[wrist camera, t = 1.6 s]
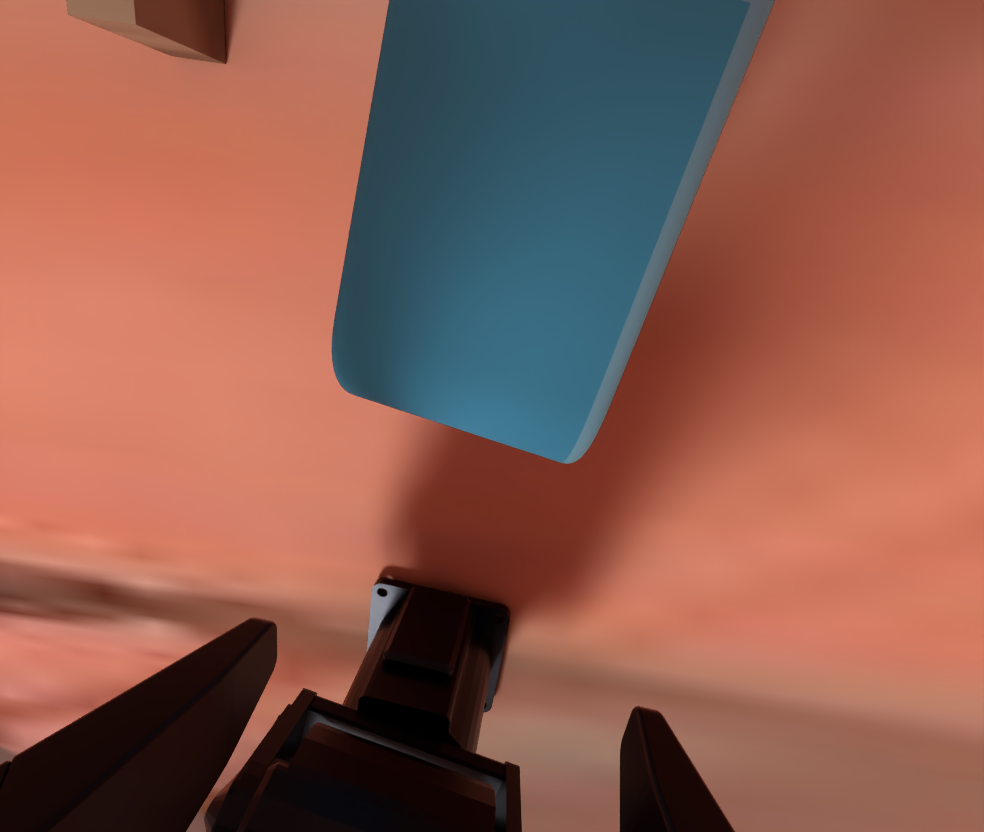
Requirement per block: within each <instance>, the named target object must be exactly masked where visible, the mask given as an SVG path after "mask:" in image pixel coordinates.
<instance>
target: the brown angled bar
mask: <svg viewBox="0 0 984 832" xmlns="http://www.w3.org/2000/svg"><path fill="white" fill-rule="evenodd" d="M66 3H67V11H68V15H70V16H72V17H75V18H77V19H80V20H82V21H85V22H87V23H90V24H92V25H95V26H97V27H100V28H102V29H105V30H107V31H110V32H112V33H115V34H117V35H120V36H123V37H125V38H128V39H130V40H133V41H135V42H138V43H140V44H143V45H145V46H148V47H150V48H153V49H155V50H158V51H160V52H163V53H165V54H168V55H170V56H175V57H182V58H189V59H196V60H202V61H209V62H216V63H223V64H226V51H225V20H224V0H66Z"/></svg>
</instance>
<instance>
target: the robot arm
mask: <svg viewBox="0 0 984 832" xmlns="http://www.w3.org/2000/svg"><path fill="white" fill-rule="evenodd" d="M381 588H384V589H386V591H383V590H382V589H381ZM496 614H500V615H502V616H503V617H498V616H496ZM510 615H511V613H510V610H509V608H508V607H507V606H505V605H503V604H499V603H495V602H490V601H486V600H481V599H477V598H472V597H468V596H463V595H459V594H454V593H450V592H445V591H441V590H436V589H432V588H427V587H423V586H418V585H414V584H409V583H405V582H400V581H396V580H391V579H387V578H381V579H378V580H377V581H376V582H375V584H374V586H373V588H372V595H371V607H370V620H369V632H368V644H367V653H366V656H365V658H364V660H363V662H362V664H361V666H360V668H359V670H358V673H357V675H356V677H355V679H354V681H353V683H352V685H351V688H350V690H349V692H348V694H347V696H346V698H345V700H344V702H343V705H341V704H339V703H336V702H333V701H330V700H327V699H325V698H322V697H319V696H317V693H316V692H314V691H311V690H308V689H305V688H303V690H302V691H301V693H300V694H299V695H298V697H297V698H296V700H295V701H294V702H293V704H292V705H291V704H288V705H287V707H286V708H285V710H284V711H283V712H282V714H281V715H279V716H278V718H277V720H276V721H275V723H274V725H273V726H272V728H271V729H270V730H269V732H268V733H267V735H266V736H265V737H264V739H263V740H262V742H261V743H260V744H259V746H258V747H257V748H256V750H255V751H254V753H253V754H252V755H251V757H250V758H249V760H248V761H247V762H246V764H245V765H244V767H243V768H242V769H241V771H240V772H239V773H238V774H237V775H236V776H235V777H234V778H233V779H232V780H231V781H230V782H229V783H228V784H227V785H226V786H225V787H224V788H223V789H222V790H221V791H220V792H219V793H218V794H217V795H216V796H215V798H214V799H213V800H212V802H211V804H210V805H209V807H208V809H207V812H206V814H205V817H204V822H205V827H206V832H522V824H521V795H520V767H519V766H517V765H515V764H512V763H509V762H506V761H505V763H501V762H498V761H496V760H493V759H490V758H487V757H485V756H482V755H479V754H476V750H477V745H478V739H479V733H480V728H481V722H482V717H483V712H488V711H489V710H490V709H491V707H492V703H493V698H494V693H495V689H496V684H497V679H498V674H499V669H500V665H501V660H502V655H503V650H504V646H505V641H506V636H507V631H508V627H509V622H510ZM276 660H277V627H276V624H275V623H274V622H273V621H269V620H265V619H261V618H250V619H248V620H246V621H244V622H243V623H241V624H239V625H238V626H236V627H234V628H232V629H231V630H229V631H227V632H226V633H224V634H222V635H221V636H219V637H217V638H215V639H214V640H212V641H210V642H209V643H207V644H205V645H203V646H202V647H200V648H198V649H197V650H195V651H193V652H192V653H190V654H188V655H186V656H185V657H183V658H181V659H180V660H178V661H176V662H175V663H173V664H171V665H169V666H168V667H166V668H164V669H163V670H161V671H159V672H157V673H156V674H154V675H152V676H151V677H149V678H147V679H146V680H144V681H142V682H140V683H139V684H137V685H135V686H134V687H132V688H130V689H128V690H127V691H125V692H123V693H122V694H120V695H118V696H117V697H115V698H113V699H111V700H110V701H108V702H106V703H105V704H103V705H101V706H100V707H98V708H96V709H94V710H93V711H91V712H89V713H88V714H86V715H84V716H82V717H81V718H79V719H77V720H76V721H74V722H72V723H71V724H69V725H67V726H65V727H64V728H62V729H60V730H59V731H57V732H55V733H54V734H52V735H50V736H48V737H47V738H45V739H43V740H42V741H40V742H38V743H36V744H35V745H33V746H31V747H30V748H28V749H26V750H25V751H23V752H21V753H19V754H18V755H16V756H15V757H14V758H13V759H12V761H6V762H4V763H2V764H1V765H0V832H186V830H187V829H188V827H189V825H190V824H191V822H192V821H193V819H194V817H195V816H196V814H197V813H198V811H199V809H200V808H201V806H202V804H203V803H204V801H205V800H206V798H207V796H208V795H209V793H210V791H211V790H212V788H213V787H214V785H215V783H216V782H217V780H218V778H219V777H220V775H221V773H222V772H223V770H224V768H225V766H226V765H227V763H228V761H229V759H230V757H231V755H232V753H233V751H234V750H235V748H236V746H237V744H238V742H239V740H240V737H241V735H242V733H243V731H244V729H245V727H246V725H247V723H248V721H249V719H250V717H251V715H252V713H253V711H254V709H255V707H256V705H257V703H258V701H259V699H260V697H261V695H262V693H263V691H264V689H265V687H266V685H267V683H268V681H269V678H270V676H271V674H272V672H273V670H274V667H275V664H276ZM620 832H735V831H734V829H733V828H732V826H731V824H730V823H729V821H728V820H727V818H726V816H725V815H724V813H723V812H722V810H721V808H720V807H719V805H718V803H717V802H716V800H715V799H714V797H713V795H712V794H711V792H710V791H709V789H708V787H707V786H706V784H705V783H704V781H703V779H702V778H701V776H700V774H699V773H698V771H697V770H696V768H695V766H694V765H693V763H692V762H691V760H690V758H689V757H688V755H687V753H686V752H685V750H684V749H683V747H682V745H681V744H680V742H679V741H678V739H677V737H676V736H675V734H674V733H673V731H672V729H671V728H670V726H669V724H668V723H667V721H666V720H665V718H664V716H663V715H662V714H661V713H660V712H659V711H657V710H653V709H649V708H644V707H640V706H636V707H635V708H634V709H633V710H632V712H631V715H630V718H629V721H628V724H627V727H626V730H625V732H624V735H623V738H622V742H621V749H620Z"/></svg>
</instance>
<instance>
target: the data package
mask: <svg viewBox="0 0 984 832" xmlns="http://www.w3.org/2000/svg"><path fill="white" fill-rule="evenodd" d="M774 1H775V0H389V5H388V11H387V16H386V22H385V28H384V34H383V40H382V45H381V51H380V57H379V63H378V69H377V74H376V80H375V86H374V92H373V98H372V104H371V109H370V115H369V121H368V127H367V133H366V138H365V144H364V150H363V156H362V162H361V167H360V173H359V179H358V185H357V191H356V196H355V202H354V208H353V214H352V220H351V225H350V231H349V237H348V243H347V249H346V255H345V260H344V266H343V272H342V278H341V284H340V289H339V295H338V301H337V307H336V313H335V319H334V326H333V335H332V361H333V367H334V372H335V375H336V378H337V380H338V382H339V383H340V385H341V386H342V387H343V388H344V389H345V390H346V391H347V392H348V393H351V394H353V395H356V396H359V397H362V398H365V399H368V400H371V401H374V402H377V403H380V404H383V405H386V406H389V407H392V408H395V409H398V410H401V411H404V412H407V413H410V414H414V415H417V416H420V417H423V418H426V419H429V420H432V421H435V422H438V423H441V424H444V425H447V426H450V427H453V428H456V429H459V430H462V431H465V432H468V433H472V434H475V435H478V436H481V437H484V438H487V439H490V440H493V441H496V442H499V443H502V444H505V445H508V446H511V447H514V448H517V449H520V450H523V451H526V452H529V453H533V454H536V455H539V456H542V457H545V458H548V459H551V460H554V461H557V462H560V463H565V464H570V463H573V462H575V461H577V460H579V459H580V458H581V457H582V456H583V455H584V454H585V453H586V451H587V450H588V449H589V447H590V446H591V444H592V442H593V441H594V439H595V437H596V435H597V433H598V431H599V429H600V427H601V425H602V423H603V421H604V419H605V416H606V414H607V412H608V409H609V407H610V405H611V402H612V400H613V397H614V395H615V392H616V390H617V387H618V385H619V382H620V380H621V378H622V375H623V373H624V370H625V368H626V365H627V363H628V360H629V358H630V355H631V353H632V350H633V348H634V346H635V343H636V341H637V338H638V336H639V333H640V331H641V328H642V326H643V323H644V321H645V318H646V316H647V314H648V311H649V309H650V306H651V304H652V301H653V299H654V296H655V294H656V291H657V289H658V287H659V284H660V282H661V279H662V277H663V274H664V272H665V269H666V267H667V264H668V262H669V259H670V257H671V255H672V252H673V250H674V247H675V245H676V242H677V240H678V237H679V235H680V232H681V230H682V228H683V225H684V223H685V220H686V218H687V215H688V213H689V210H690V208H691V205H692V203H693V200H694V198H695V196H696V193H697V191H698V188H699V186H700V183H701V181H702V178H703V176H704V173H705V171H706V168H707V166H708V164H709V161H710V159H711V156H712V154H713V151H714V149H715V146H716V144H717V141H718V139H719V137H720V134H721V132H722V129H723V127H724V124H725V122H726V119H727V117H728V114H729V112H730V109H731V107H732V105H733V102H734V100H735V97H736V95H737V92H738V90H739V87H740V85H741V82H742V80H743V77H744V75H745V73H746V70H747V68H748V65H749V63H750V60H751V58H752V55H753V53H754V50H755V48H756V46H757V43H758V41H759V38H760V36H761V33H762V31H763V28H764V26H765V23H766V21H767V18H768V16H769V14H770V11H771V9H772V6H773V4H774Z"/></svg>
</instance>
